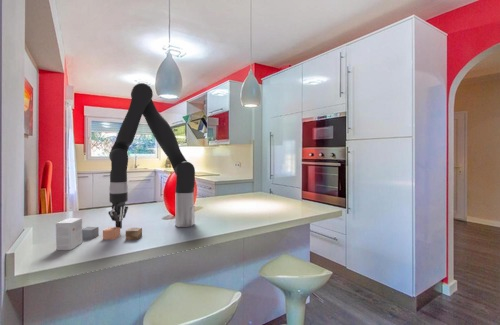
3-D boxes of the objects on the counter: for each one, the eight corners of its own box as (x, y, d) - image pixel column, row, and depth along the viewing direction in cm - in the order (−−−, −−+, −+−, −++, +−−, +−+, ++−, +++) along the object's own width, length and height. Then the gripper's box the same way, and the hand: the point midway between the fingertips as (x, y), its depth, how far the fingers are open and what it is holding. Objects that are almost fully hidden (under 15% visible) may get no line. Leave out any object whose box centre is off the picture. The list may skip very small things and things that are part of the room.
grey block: (98, 235, 117) (98, 227, 117) (91, 239, 112) (91, 230, 112) (87, 235, 118) (87, 226, 117) (80, 239, 113) (80, 229, 112)
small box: (68, 243, 107) (68, 217, 106) (82, 243, 107) (82, 217, 107) (55, 250, 99) (55, 223, 98) (71, 250, 99) (70, 222, 99)
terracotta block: (120, 236, 117) (120, 227, 117) (114, 239, 112) (114, 230, 112) (109, 236, 117) (109, 227, 117) (102, 239, 112) (102, 230, 112)
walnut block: (142, 236, 117) (142, 227, 117) (137, 240, 112) (137, 230, 112) (130, 236, 117) (130, 227, 117) (125, 240, 112) (125, 230, 112)
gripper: (118, 193, 113) (118, 233, 114) (133, 189, 127) (133, 225, 127) (102, 193, 114) (102, 232, 114) (118, 189, 127) (118, 224, 127)
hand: (118, 228), depth 121 cm, fingers closed
